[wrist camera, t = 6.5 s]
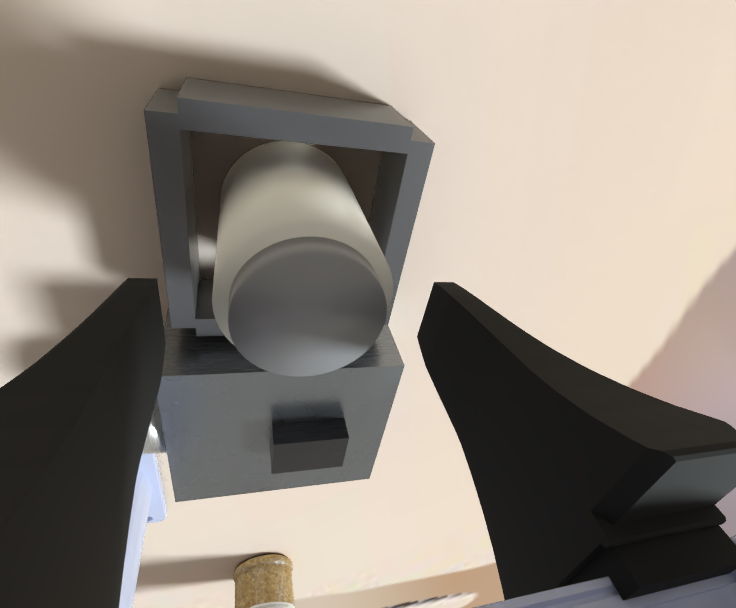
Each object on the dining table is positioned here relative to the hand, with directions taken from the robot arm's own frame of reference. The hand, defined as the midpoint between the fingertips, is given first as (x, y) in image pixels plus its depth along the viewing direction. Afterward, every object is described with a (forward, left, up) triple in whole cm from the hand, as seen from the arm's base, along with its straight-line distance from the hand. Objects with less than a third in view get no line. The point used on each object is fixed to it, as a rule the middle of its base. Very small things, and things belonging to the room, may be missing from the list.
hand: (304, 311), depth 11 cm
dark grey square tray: (0, 0, -6) cm, 6 cm away
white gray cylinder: (0, 0, -6) cm, 6 cm away
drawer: (0, -8, -6) cm, 10 cm away
